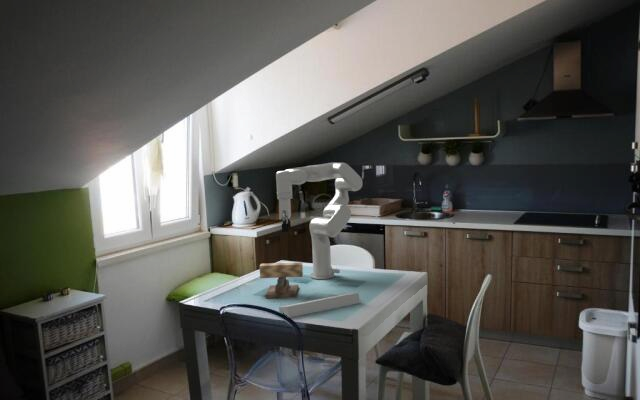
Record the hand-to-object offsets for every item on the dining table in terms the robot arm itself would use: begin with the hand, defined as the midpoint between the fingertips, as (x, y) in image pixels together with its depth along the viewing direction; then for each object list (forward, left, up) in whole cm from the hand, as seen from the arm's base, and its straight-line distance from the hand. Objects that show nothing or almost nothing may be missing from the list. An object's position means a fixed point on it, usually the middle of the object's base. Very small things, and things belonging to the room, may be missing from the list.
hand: (286, 230), depth 258 cm
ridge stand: (+2, +12, -28) cm, 31 cm away
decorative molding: (-17, +35, -29) cm, 49 cm away
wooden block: (+2, +12, -20) cm, 24 cm away
